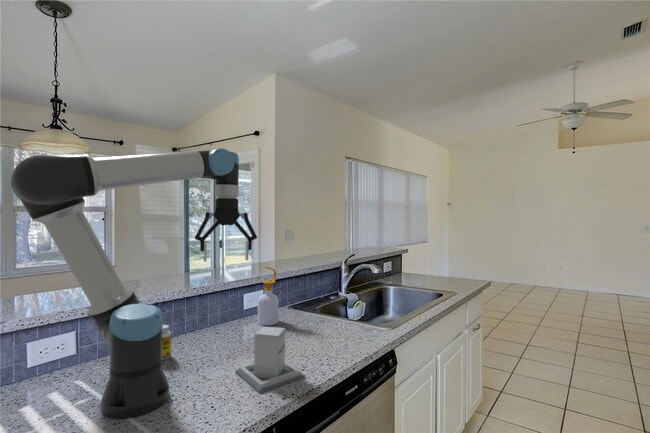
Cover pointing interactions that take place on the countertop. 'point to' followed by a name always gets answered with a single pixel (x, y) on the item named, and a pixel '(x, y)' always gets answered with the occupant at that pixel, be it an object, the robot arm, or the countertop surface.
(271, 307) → the soap bottle
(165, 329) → the supplement bottle
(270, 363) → the supplement box
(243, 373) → the slate base tray
